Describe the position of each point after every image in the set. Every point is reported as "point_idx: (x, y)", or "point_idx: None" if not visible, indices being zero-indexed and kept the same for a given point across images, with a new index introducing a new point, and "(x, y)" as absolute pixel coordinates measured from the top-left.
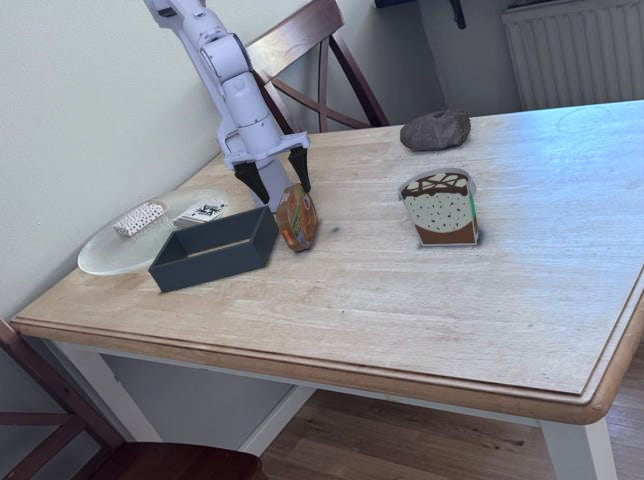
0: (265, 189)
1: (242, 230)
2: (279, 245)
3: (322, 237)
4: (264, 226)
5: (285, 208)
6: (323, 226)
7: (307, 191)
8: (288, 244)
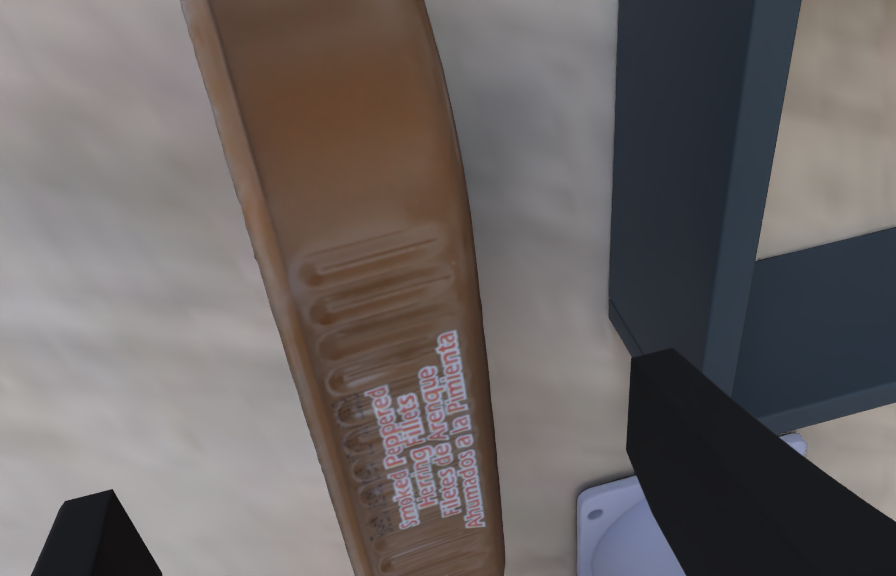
0: (680, 547)
1: (877, 281)
2: (554, 99)
3: (139, 131)
4: (688, 220)
5: (302, 216)
6: (217, 286)
7: (71, 513)
8: None
